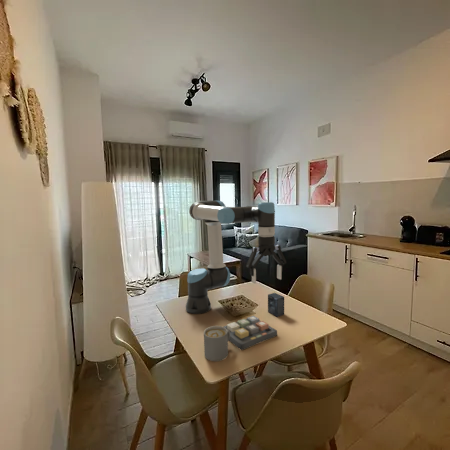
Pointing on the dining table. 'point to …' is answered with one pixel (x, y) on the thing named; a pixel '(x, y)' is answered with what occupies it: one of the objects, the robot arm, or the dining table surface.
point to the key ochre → (242, 333)
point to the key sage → (243, 323)
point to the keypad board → (252, 337)
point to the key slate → (253, 320)
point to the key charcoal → (252, 329)
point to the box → (276, 304)
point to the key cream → (233, 326)
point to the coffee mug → (216, 343)
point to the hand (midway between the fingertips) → (266, 280)
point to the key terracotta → (262, 325)
